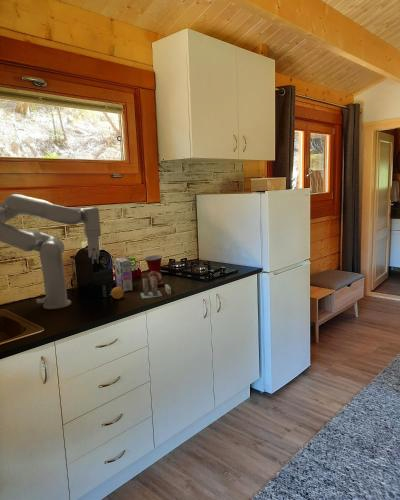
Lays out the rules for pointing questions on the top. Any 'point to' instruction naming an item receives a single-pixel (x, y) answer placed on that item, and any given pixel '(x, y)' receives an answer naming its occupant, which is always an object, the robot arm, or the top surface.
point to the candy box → (123, 274)
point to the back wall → (168, 289)
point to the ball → (117, 292)
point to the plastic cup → (154, 263)
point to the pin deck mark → (150, 295)
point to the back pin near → (154, 287)
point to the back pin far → (151, 283)
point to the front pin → (145, 287)
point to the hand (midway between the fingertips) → (96, 270)
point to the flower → (156, 275)
